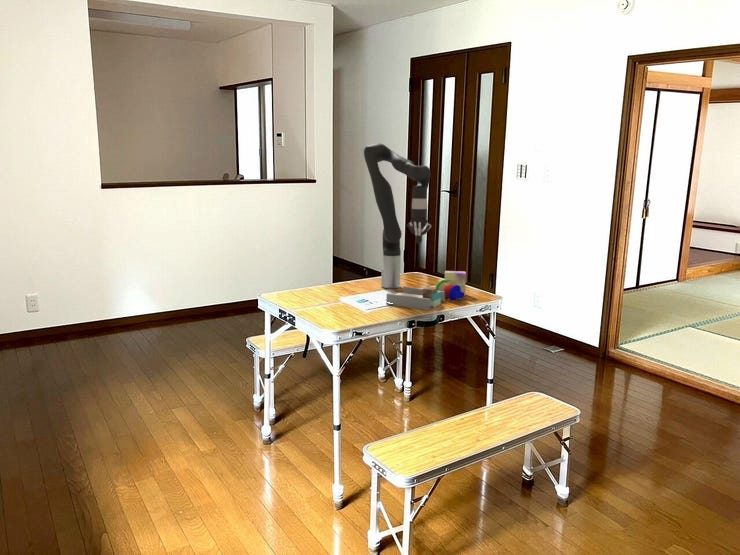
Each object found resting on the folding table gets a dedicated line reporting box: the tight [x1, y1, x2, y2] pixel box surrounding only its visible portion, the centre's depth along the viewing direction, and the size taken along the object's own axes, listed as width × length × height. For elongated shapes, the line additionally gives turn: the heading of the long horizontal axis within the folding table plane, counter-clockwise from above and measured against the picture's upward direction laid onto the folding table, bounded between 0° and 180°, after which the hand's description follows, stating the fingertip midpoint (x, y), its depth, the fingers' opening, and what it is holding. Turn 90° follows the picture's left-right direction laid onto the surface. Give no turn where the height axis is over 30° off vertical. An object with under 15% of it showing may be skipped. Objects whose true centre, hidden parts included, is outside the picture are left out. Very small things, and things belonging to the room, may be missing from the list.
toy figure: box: [434, 279, 465, 302], centre depth 304 cm, size 9×10×15 cm
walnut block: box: [422, 286, 437, 300], centre depth 292 cm, size 5×5×5 cm
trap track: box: [386, 286, 446, 311], centre depth 297 cm, size 22×18×6 cm
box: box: [444, 270, 467, 297], centre depth 313 cm, size 10×6×12 cm, turn 84°
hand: (418, 243), depth 304 cm, fingers closed
